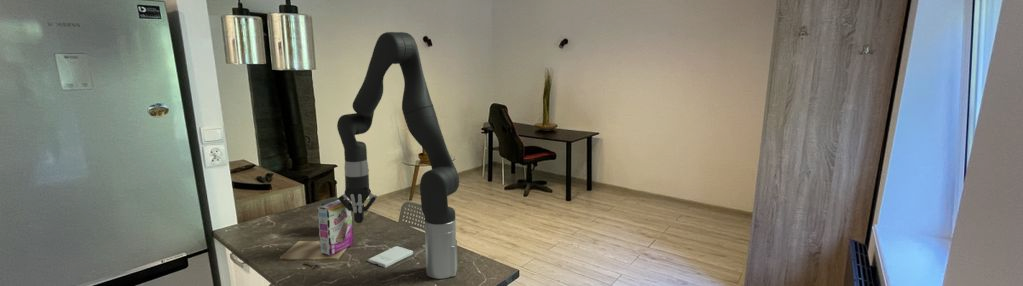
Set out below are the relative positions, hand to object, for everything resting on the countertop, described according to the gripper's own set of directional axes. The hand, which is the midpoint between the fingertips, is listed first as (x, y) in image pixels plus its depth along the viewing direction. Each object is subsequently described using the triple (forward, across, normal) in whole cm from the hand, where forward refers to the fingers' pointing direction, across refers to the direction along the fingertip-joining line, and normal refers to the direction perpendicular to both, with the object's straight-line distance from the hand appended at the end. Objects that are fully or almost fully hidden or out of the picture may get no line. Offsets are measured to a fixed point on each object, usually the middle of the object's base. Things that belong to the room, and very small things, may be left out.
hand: (359, 222), depth 161 cm
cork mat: (+10, -15, 0) cm, 18 cm away
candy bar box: (+10, -8, 0) cm, 12 cm away
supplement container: (+11, -15, +18) cm, 25 cm away
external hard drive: (+11, +12, -6) cm, 17 cm away
